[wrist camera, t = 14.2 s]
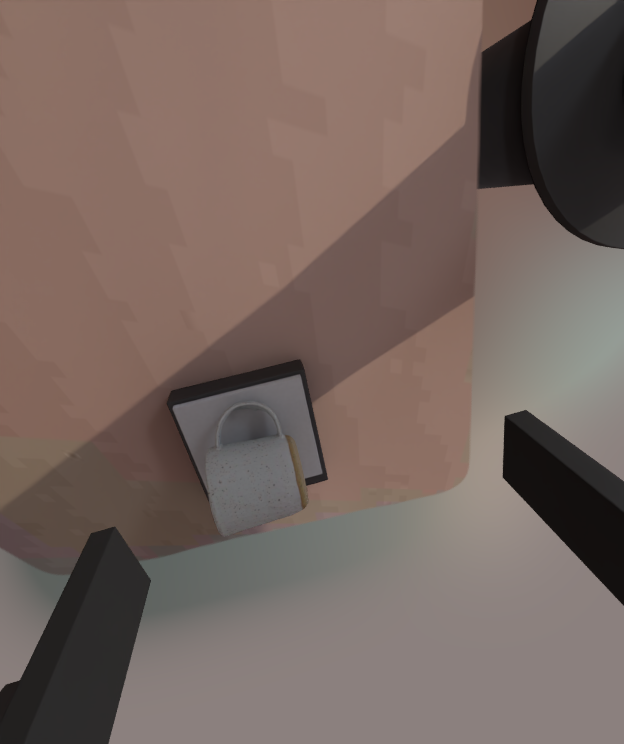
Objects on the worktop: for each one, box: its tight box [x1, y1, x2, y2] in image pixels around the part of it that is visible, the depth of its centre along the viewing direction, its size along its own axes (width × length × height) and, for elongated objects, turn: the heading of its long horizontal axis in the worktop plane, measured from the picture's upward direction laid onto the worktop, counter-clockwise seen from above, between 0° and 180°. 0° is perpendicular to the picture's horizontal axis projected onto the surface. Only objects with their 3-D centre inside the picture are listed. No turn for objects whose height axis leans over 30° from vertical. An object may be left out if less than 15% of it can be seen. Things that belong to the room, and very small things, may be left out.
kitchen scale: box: [167, 360, 328, 503], centre depth 37 cm, size 13×14×3 cm
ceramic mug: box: [205, 401, 308, 536], centre depth 32 cm, size 11×8×8 cm
